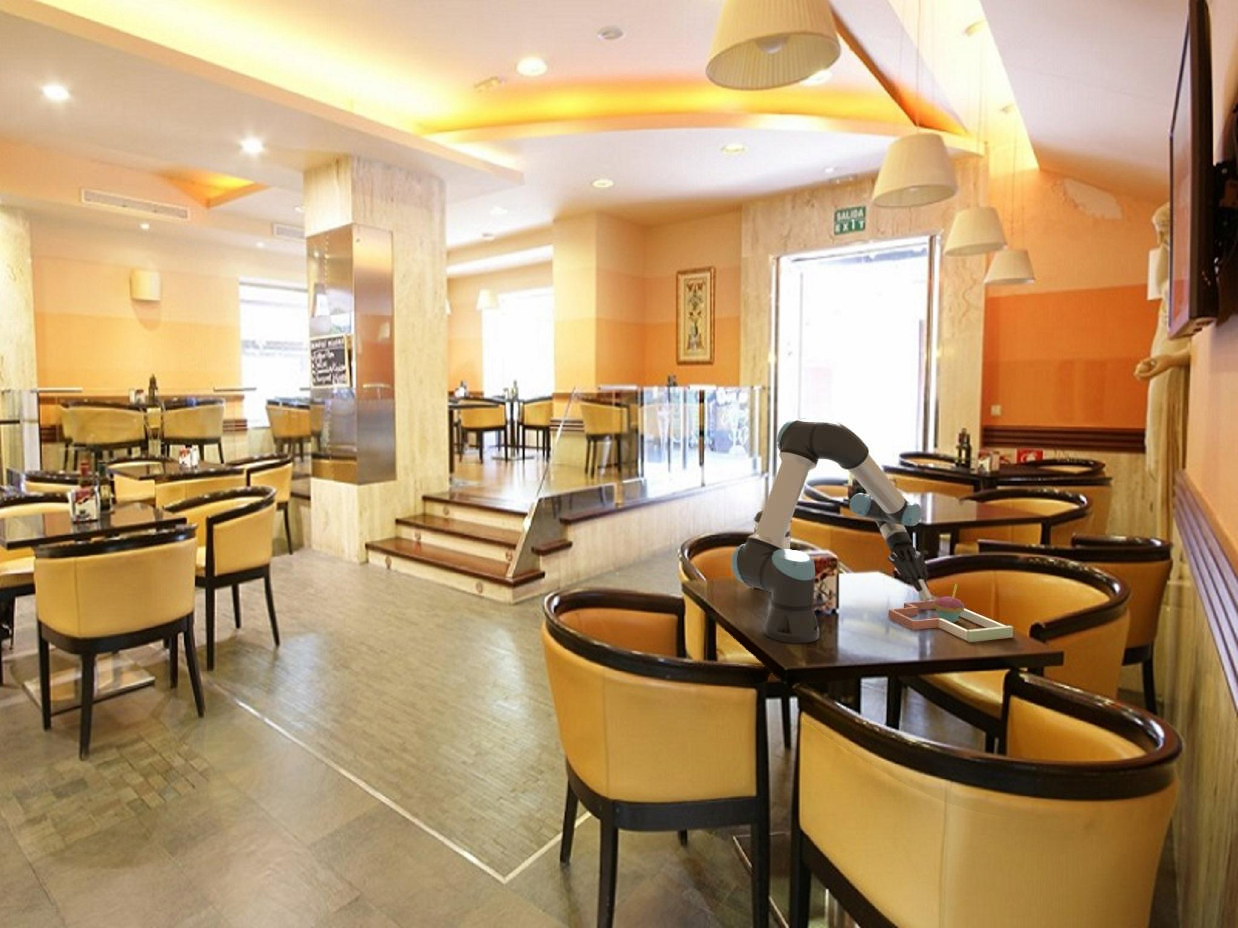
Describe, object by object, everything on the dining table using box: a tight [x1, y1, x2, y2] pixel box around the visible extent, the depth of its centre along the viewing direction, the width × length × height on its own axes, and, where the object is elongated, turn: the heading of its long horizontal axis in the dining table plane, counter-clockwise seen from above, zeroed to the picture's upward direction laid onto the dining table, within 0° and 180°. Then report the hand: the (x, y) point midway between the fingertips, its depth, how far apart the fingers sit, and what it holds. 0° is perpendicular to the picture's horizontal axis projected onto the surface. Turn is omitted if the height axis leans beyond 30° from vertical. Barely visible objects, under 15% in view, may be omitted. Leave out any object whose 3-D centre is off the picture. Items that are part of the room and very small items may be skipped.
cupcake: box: [933, 581, 965, 623], centre depth 209 cm, size 9×8×12 cm
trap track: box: [887, 599, 1014, 643], centre depth 205 cm, size 23×28×3 cm
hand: (927, 599), depth 217 cm, fingers closed
